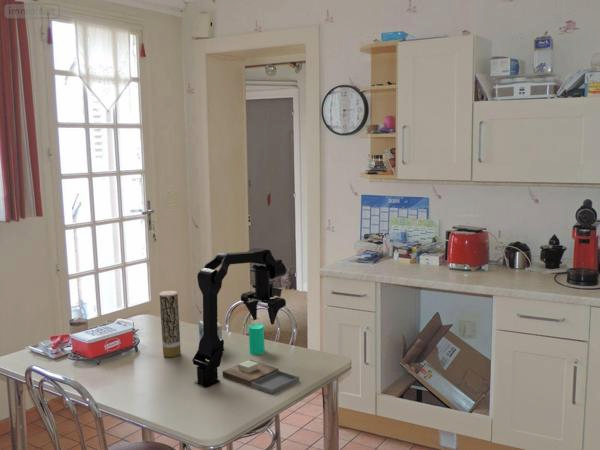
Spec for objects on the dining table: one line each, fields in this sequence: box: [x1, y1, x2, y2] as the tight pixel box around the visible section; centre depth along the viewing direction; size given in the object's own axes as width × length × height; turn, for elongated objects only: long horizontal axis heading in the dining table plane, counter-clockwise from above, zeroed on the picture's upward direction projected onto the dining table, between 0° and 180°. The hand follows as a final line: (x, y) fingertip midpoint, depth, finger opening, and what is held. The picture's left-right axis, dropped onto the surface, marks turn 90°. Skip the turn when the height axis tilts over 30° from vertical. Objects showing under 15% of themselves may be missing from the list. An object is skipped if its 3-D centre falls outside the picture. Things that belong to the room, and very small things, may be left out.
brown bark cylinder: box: [159, 290, 182, 358], centre depth 244 cm, size 7×7×25 cm
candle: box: [248, 323, 266, 355], centre depth 246 cm, size 6×6×12 cm
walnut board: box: [222, 359, 279, 387], centre depth 223 cm, size 14×14×2 cm
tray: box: [250, 369, 300, 395], centre depth 216 cm, size 14×10×2 cm
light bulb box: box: [198, 319, 223, 341], centre depth 251 cm, size 11×7×11 cm, turn 25°
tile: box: [237, 359, 258, 373], centre depth 224 cm, size 5×5×2 cm
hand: (263, 321), depth 237 cm, fingers open, 9 cm apart
